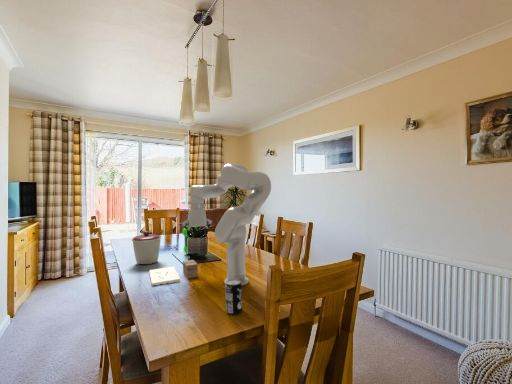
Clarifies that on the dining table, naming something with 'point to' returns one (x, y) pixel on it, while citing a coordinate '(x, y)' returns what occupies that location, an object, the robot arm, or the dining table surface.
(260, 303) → the dining table surface
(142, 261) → the canister
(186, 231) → the plastic bottle
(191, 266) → the block
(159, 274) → the board
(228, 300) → the beverage can
